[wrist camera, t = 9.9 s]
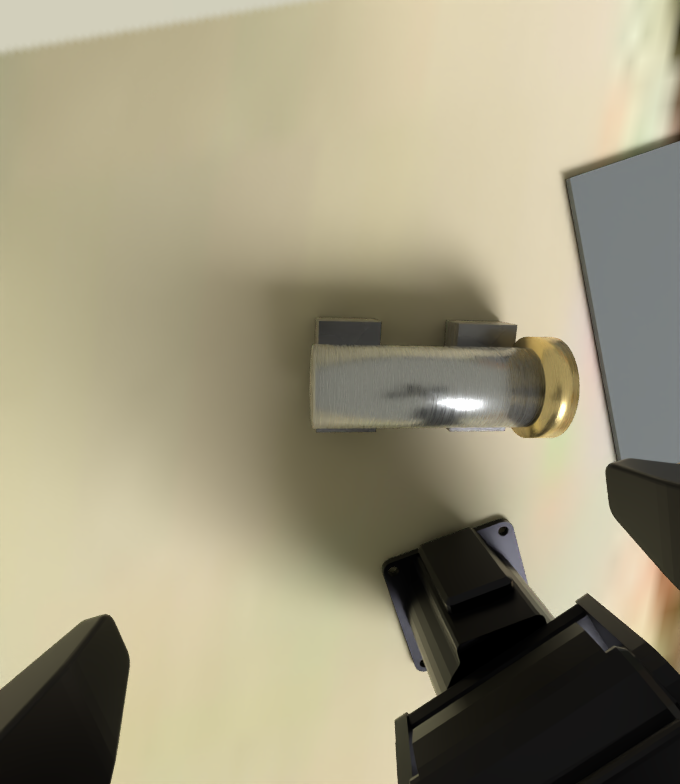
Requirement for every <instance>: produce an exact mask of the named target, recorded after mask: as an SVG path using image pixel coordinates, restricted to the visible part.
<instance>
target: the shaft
mask: <svg viewBox="0 0 680 784" xmlns="http://www.w3.org/2000/svg"><path fill="white" fill-rule="evenodd" d="M516 331H517V325H515V324H510V323H505V322H500V321H456V320H446V331H445V343H444V346H392V345H380V338H381V322H380V321H378V320H376V319H367V318H323V317H316V331H315V344H313V345H312V349H311V360H310V416H311V426H312V429H316V432H376V428H447V429H448V430H449V431H505V427H511V428H512V430H513V431H514V432H515V433H516V434H517V435H519V436H520V437H523V438H554V437H557V436H559V435H561V434H562V433H564V432H565V431H566V430H567V428H568V427H569V426H570V424H571V422H572V420H573V418H574V415H575V413H576V409H577V405H578V400H579V374H578V369H577V364H576V361H575V358H574V356H573V354H572V352H571V350H570V349H569V347H568V346H567V345H566V344H565V343H564V342H563V341H562V340H560V339H558V338H554V337H523V338H521V339H519V340H518V341H517V342H515V340H516Z"/></svg>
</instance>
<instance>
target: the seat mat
mask: <svg viewBox="0 0 680 784" xmlns="http://www.w3.org/2000/svg"><path fill="white" fill-rule="evenodd" d="M566 183H567V189H568V194H569V200H570V205H571V211H572V216H573V221H574V227H575V232H576V238H577V243H578V249H579V254H580V259H581V265H582V270H583V276H584V281H585V286H586V292H587V297H588V303H589V308H590V314H591V319H592V324H593V330H594V335H595V341H596V346H597V352H598V357H599V362H600V368H601V373H602V379H603V384H604V389H605V395H606V400H607V406H608V411H609V417H610V422H611V427H612V433H613V438H614V444H615V449H616V455H617V460H618V461H620V460H623V459H627V458H635V459H643V460H651V461H659V462H668V463H679V462H680V141H678V142H675V143H672V144H669V145H666V146H663V147H660V148H657V149H654V150H651V151H648V152H645V153H642V154H639V155H637V156H634V157H631V158H628V159H625V160H622V161H619V162H616V163H613V164H610V165H607V166H604V167H601V168H598V169H595V170H592V171H589V172H586V173H583V174H580V175H577V176H574V177H571V178H568V179H566Z"/></svg>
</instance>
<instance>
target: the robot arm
mask: <svg viewBox="0 0 680 784" xmlns="http://www.w3.org/2000/svg"><path fill="white" fill-rule="evenodd" d="M605 472H606V483H607V492H608V500H609V507H610V510H611V512H612V514H613V516H614V517H615V519H616V520H617V521H618V522H619V523H620V525H621V526H622V527H623V528H624V529H625V530H626V531H627V533H628V534H629V535H630V536H631V537H632V538H633V539H634V541H635V542H636V543H637V544H638V545H639V546H640V547H641V549H642V550H643V551H644V552H645V553H646V554H647V555H648V557H649V558H650V559H651V560H652V561H653V562H654V563H655V565H656V566H657V567H658V568H659V569H660V570H661V571H662V572H663V574H664V575H665V576H666V577H667V578H668V579H669V580H670V581H671V582H672V583H673V584H674V585H675V586H676V587H677V588H678V589H679V590H680V464H676V463H668V462H659V461H651V460H643V459H635V458H627V459H623V460H620V461H616V462H613V463H610V464H609V465H608V466H607V467H606V471H605ZM503 526H505V527H506V529H505V530H504V532H502V533H498V530H499V529H500V528H501V527H503ZM391 567H397V570H396V571H395V572H393V573H390V572H388V571H389V569H390V568H391ZM382 573H383V575H384V578H385V581H386V584H387V587H388V590H389V593H390V596H391V598H392V601H393V604H394V607H395V610H396V613H397V616H398V618H399V621H400V624H401V627H402V630H403V633H404V636H405V639H406V641H407V644H408V647H409V650H410V653H411V656H412V659H413V661H414V664H415V667H416V668H417V670H419V671H423V672H424V671H427V672H428V674H429V677H430V680H431V682H432V685H433V688H434V690H435V693H436V695H437V696H436V697H435V698H433V699H432V700H430V701H429V702H427V703H426V704H424V705H423V706H421V707H420V708H418V709H416V710H415V711H413V712H412V713H410V714H408V713H407V712H406V713H405V714H403V715H402V716H400V717H399V718H397V719H396V720H395V736H396V743H395V744H396V760H397V776H398V784H680V675H679V674H678V672H677V671H676V670H675V669H674V668H673V667H672V666H671V665H670V664H669V663H668V662H667V661H666V660H665V659H664V658H663V657H662V656H661V655H660V654H659V653H658V652H657V651H656V650H655V649H654V648H653V647H652V646H651V645H650V644H648V643H647V642H646V641H645V640H644V639H643V638H641V637H640V636H639V635H638V634H636V633H635V632H634V631H633V630H632V629H630V628H629V627H628V626H627V625H626V624H624V623H623V622H622V621H621V620H619V619H618V618H617V617H616V616H615V615H613V614H612V613H611V612H610V611H608V610H607V609H606V608H605V607H604V606H602V605H601V604H600V603H599V602H598V601H596V600H595V599H594V598H593V597H591V596H590V595H589V594H588V593H587V594H585V595H584V596H582V597H581V598H579V599H578V600H576V603H577V604H576V605H574V606H573V607H571V608H570V609H568V610H567V611H565V612H564V613H562V614H561V615H559V616H558V617H556V618H554V617H553V615H552V614H551V613H550V612H549V610H548V609H547V608H546V607H545V605H544V604H543V603H542V602H541V600H540V599H539V598H538V597H537V595H536V594H535V593H534V592H533V591H532V589H531V588H530V587H529V586H528V583H527V579H526V575H525V571H524V567H523V563H522V559H521V556H520V552H519V548H518V544H517V540H516V536H515V532H514V528H513V526H512V524H511V523H510V522H509V521H508V520H506V519H497V520H494V521H492V522H489V523H486V524H484V525H481V526H478V527H475V528H473V529H471V528H466V529H463V530H460V531H458V532H455V533H452V534H450V535H447V536H444V537H441V538H439V539H436V540H433V541H430V542H428V543H425V544H422V545H421V546H420V547H419V548H418V549H415V550H413V551H410V552H407V553H404V554H402V555H399V556H396V557H393V558H391V559H388V560H387V561H385V562H384V564H383V565H382ZM421 660H423V661H424V662H423V663H421V662H420V661H421ZM129 668H130V659H129V654H128V651H127V648H126V646H125V644H124V642H123V639H122V637H121V635H120V633H119V630H118V628H117V626H116V624H115V622H114V620H113V618H112V617H111V616H110V615H107V614H103V615H100V616H96V617H93V618H90V619H86V620H84V621H82V622H81V623H79V624H78V625H77V626H76V627H75V628H73V629H72V630H71V631H70V632H69V633H67V634H66V635H65V636H64V637H63V638H61V639H60V640H59V641H58V642H57V643H55V644H54V645H53V646H52V647H51V648H49V649H48V650H47V651H46V652H45V653H43V654H42V655H41V656H40V657H39V658H38V659H36V660H35V661H34V662H33V663H32V664H30V665H29V666H28V667H27V668H26V669H24V670H23V671H22V672H21V673H20V674H18V675H17V676H16V677H15V678H14V679H12V680H11V681H10V682H9V683H8V684H6V685H5V686H4V687H3V688H2V689H0V784H110V783H111V779H112V774H113V770H114V765H115V761H116V755H117V749H118V743H119V737H120V730H121V723H122V716H123V709H124V703H125V696H126V689H127V682H128V675H129Z"/></svg>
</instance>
